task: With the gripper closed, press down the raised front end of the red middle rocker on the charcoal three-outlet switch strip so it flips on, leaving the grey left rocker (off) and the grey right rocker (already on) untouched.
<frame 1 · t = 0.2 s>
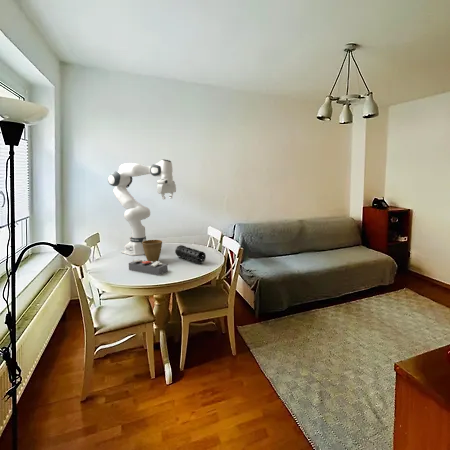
hand: (167, 198, 233), 48 cm above the table, tool pointing down, fingers open, 8 cm apart
right rocker: (155, 264, 204), point 6 cm above the table, hinge at 12.0°
left rocker: (137, 261, 211), point 6 cm above the table, hinge at -12.0°
middle rocker: (146, 262, 207), point 6 cm above the table, hinge at -12.0°
muzzle brake: (189, 260, 234), on the table
switch strip: (148, 270, 210), on the table
plant pot: (152, 261, 230), on the table
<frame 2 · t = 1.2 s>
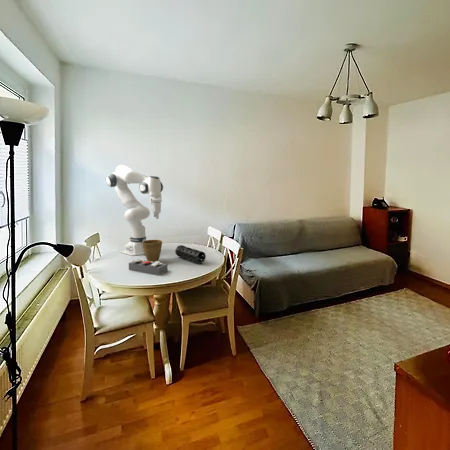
hand: (156, 217, 218), 35 cm above the table, tool pointing down, fingers open, 8 cm apart
nothing on the table moved.
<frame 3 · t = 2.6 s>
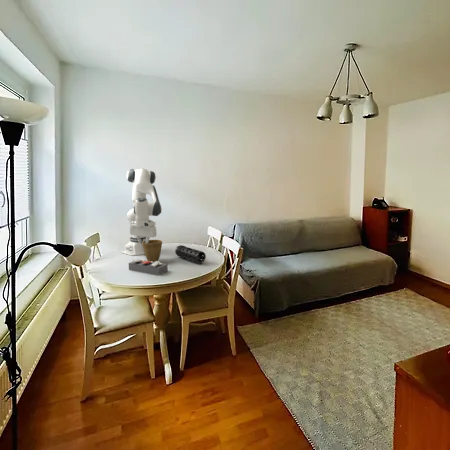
hand: (143, 242, 203), 21 cm above the table, tool pointing down, fingers open, 5 cm apart
nothing on the table moved.
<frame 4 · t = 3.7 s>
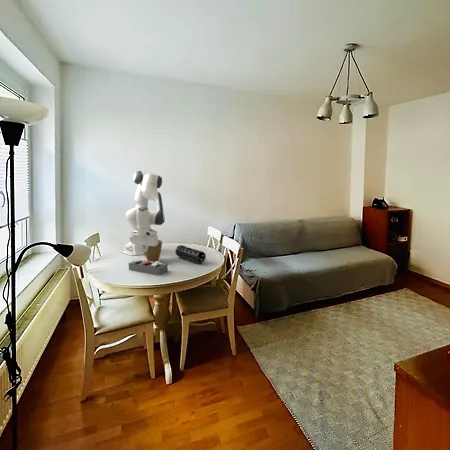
hand: (145, 251, 204), 15 cm above the table, tool pointing down, fingers closed
nothing on the table moved.
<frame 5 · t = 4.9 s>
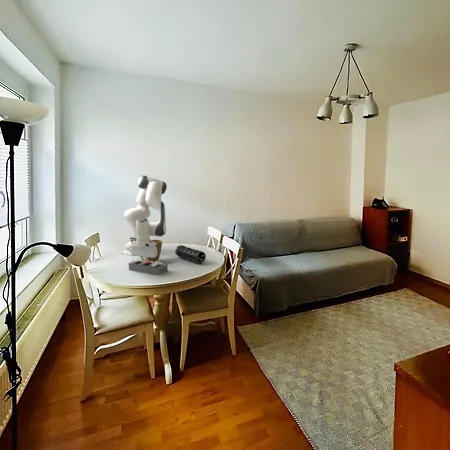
hand: (144, 262, 205), 7 cm above the table, tool pointing down, fingers closed, pressing on middle rocker
middle rocker: (146, 262, 207), point 6 cm above the table, hinge at -11.5°, touching gripper
everything else where it was.
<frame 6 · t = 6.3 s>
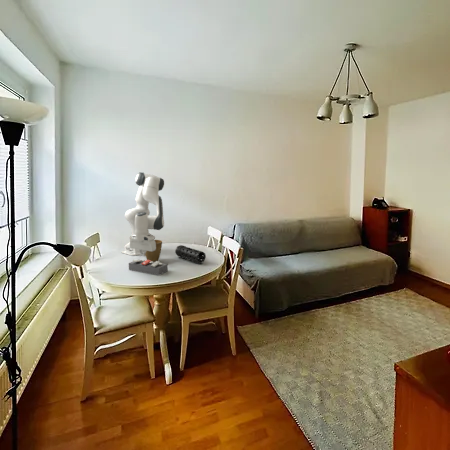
hand: (142, 255, 204), 12 cm above the table, tool pointing down, fingers closed
middle rocker: (146, 262, 207), point 6 cm above the table, hinge at 9.7°
everything else where it was.
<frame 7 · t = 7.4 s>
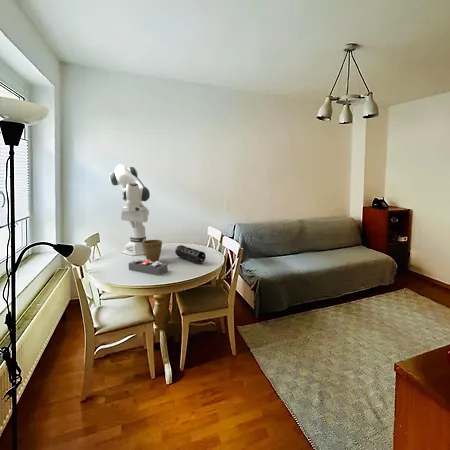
hand: (134, 227, 202), 31 cm above the table, tool pointing down, fingers closed
middle rocker: (146, 262, 207), point 6 cm above the table, hinge at 16.2°, touching switch strip
everything else where it was.
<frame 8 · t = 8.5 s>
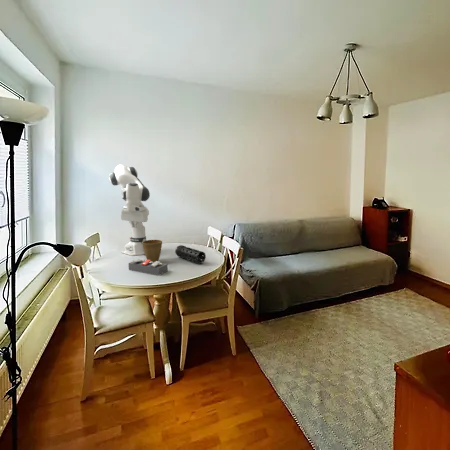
hand: (134, 227, 202), 31 cm above the table, tool pointing down, fingers closed
middle rocker: (146, 262, 207), point 6 cm above the table, hinge at 15.8°, touching switch strip
everything else where it was.
at the end: middle rocker at +16° (first picture: -12°); left rocker at -12° (first picture: -12°); right rocker at +12° (first picture: +12°) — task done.
